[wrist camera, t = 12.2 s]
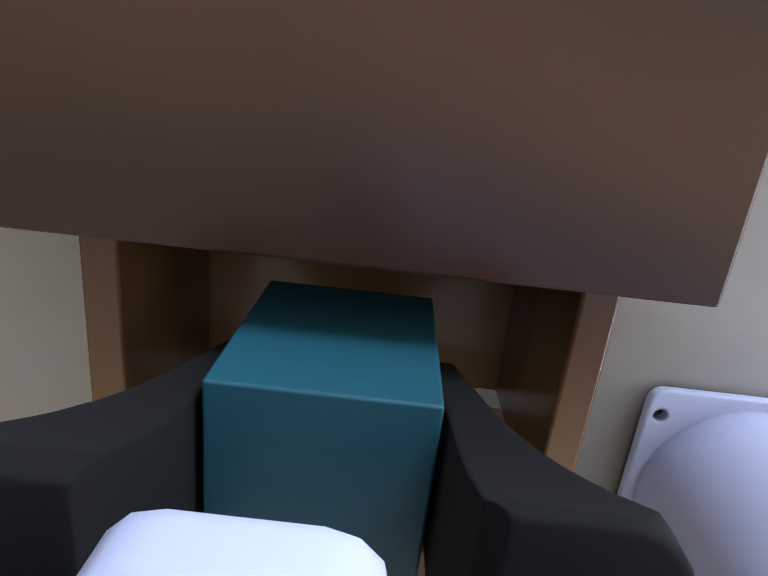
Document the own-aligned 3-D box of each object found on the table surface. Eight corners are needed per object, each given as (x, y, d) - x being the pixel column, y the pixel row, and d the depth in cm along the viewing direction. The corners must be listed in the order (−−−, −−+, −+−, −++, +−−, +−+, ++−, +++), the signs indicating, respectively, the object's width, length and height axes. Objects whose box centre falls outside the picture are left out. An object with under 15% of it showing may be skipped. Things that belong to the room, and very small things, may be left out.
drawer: (496, 546, 22) (533, 740, 16) (180, 510, 22) (85, 689, 16) (605, 52, 16) (740, 33, 10) (169, 4, 16) (5, -48, 10)
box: (413, 435, 15) (415, 592, 11) (265, 419, 15) (202, 567, 11) (432, 297, 14) (445, 407, 9) (270, 279, 14) (200, 379, 9)
